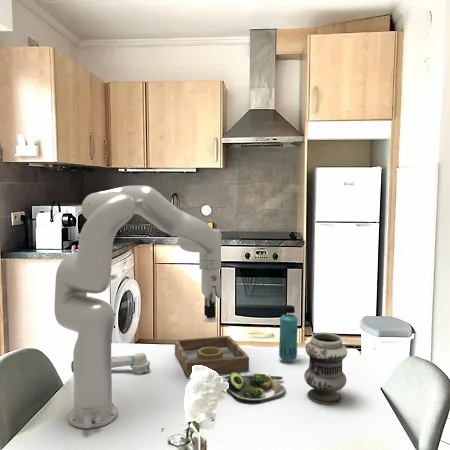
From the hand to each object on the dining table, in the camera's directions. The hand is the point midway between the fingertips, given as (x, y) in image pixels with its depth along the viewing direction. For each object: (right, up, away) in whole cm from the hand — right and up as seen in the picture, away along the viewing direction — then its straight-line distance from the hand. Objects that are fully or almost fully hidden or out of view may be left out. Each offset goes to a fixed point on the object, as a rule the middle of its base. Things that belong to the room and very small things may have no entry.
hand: (209, 316), depth 152 cm
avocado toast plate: (+14, -19, -20) cm, 31 cm away
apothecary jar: (+35, -19, -25) cm, 46 cm away
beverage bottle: (+28, -17, +3) cm, 32 cm away
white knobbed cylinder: (-33, -17, -7) cm, 38 cm away
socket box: (0, -16, +1) cm, 17 cm away
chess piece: (0, -2, 0) cm, 2 cm away
